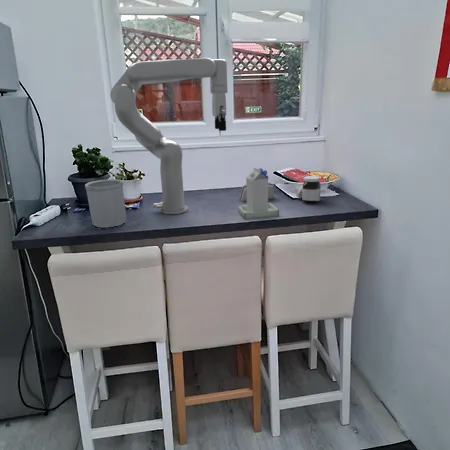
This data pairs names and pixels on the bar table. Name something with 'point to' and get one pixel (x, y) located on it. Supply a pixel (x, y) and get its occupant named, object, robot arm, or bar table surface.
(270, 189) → the grey piece
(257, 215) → the tray
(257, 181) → the milk carton
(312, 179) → the spread jar
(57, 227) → the bar table surface
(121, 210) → the utensil holder
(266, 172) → the grapes
